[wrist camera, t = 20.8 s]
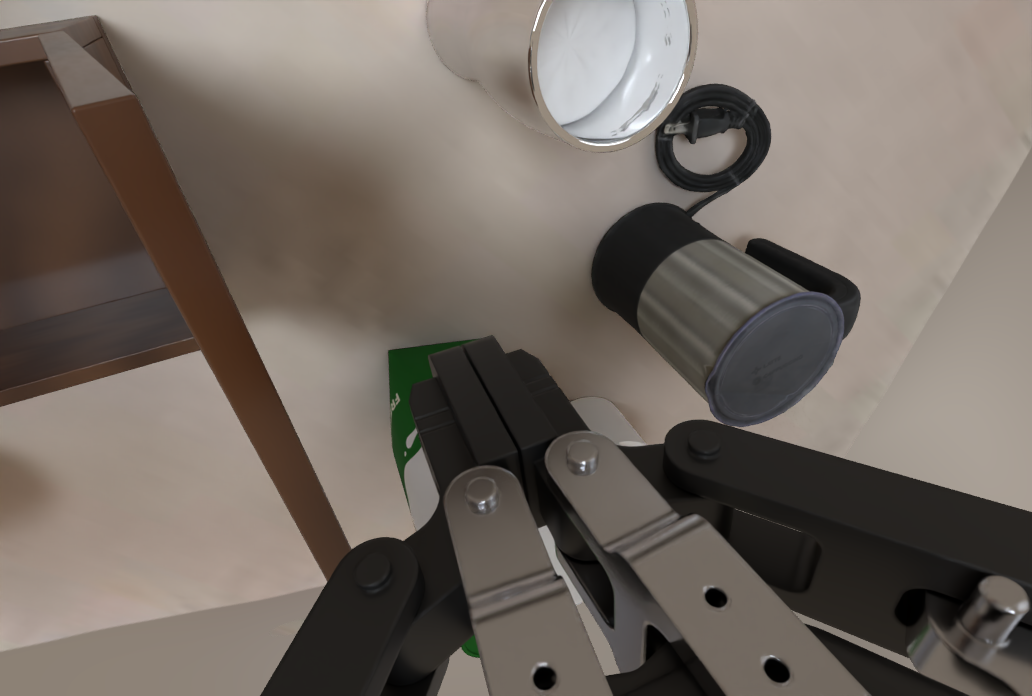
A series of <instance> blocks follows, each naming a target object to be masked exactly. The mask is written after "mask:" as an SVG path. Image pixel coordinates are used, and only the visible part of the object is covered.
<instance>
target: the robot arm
mask: <svg viewBox="0 0 1032 696" xmlns="http://www.w3.org/2000/svg"><path fill="white" fill-rule="evenodd" d="M428 360H429V364H430V368H431V372H432V376H433V378H430V379H427V380H424V381H421V382H418V383H415V384H412V388H411V393H410V397H409V401H408V402H409V406H410V409H411V413H412V416H413V419H414V423H415V426H416V429H417V433H418V436H419V439H420V443H421V446H422V449H423V452H424V455H425V458H426V461H427V464H428V467H429V469H430V472H431V475H432V478H433V481H434V483H435V486H436V489H437V492H438V495H439V502H438V505H437V508H436V510H435V512H434V514H433V515H432V517H431V518H430V520H429V521H428V522H427V523H426V524H425V525H424V526H423V527H422V528H420V529H419V530H418V531H417V532H415V533H414V534H412V535H411V536H410V537H408V538H407V539H406V540H404V541H402V540H399V539H396V538H390V537H380V538H375V539H371V540H368V541H366V542H364V543H361V544H359V545H358V546H356V547H355V548H353V549H352V550H351V551H350V552H348V553H347V554H346V555H345V556H344V557H343V558H342V560H341V561H340V562H339V564H338V565H337V567H336V568H335V570H334V572H333V574H332V575H331V577H330V579H329V580H328V582H327V584H326V585H325V587H324V589H323V590H322V592H321V594H320V596H319V597H318V599H317V601H316V602H315V604H314V606H313V608H312V609H311V611H310V613H309V614H308V616H307V617H306V619H305V621H304V623H303V624H302V626H301V628H300V629H299V631H298V633H297V634H296V636H295V638H294V640H293V641H292V643H291V645H290V646H289V648H288V650H287V651H286V653H285V655H284V656H283V658H282V660H281V661H280V663H279V665H278V667H277V668H276V670H275V672H274V673H273V675H272V677H271V679H270V680H269V682H268V683H267V685H266V687H265V688H264V690H263V692H262V694H261V695H260V696H437V694H438V691H439V689H440V686H441V683H442V680H443V678H444V675H445V672H446V670H447V667H448V663H449V657H450V655H452V654H453V653H454V652H455V651H456V650H457V649H459V648H460V647H461V646H462V645H463V644H464V643H465V642H467V641H468V640H469V639H470V638H471V637H472V636H473V635H475V639H476V643H477V647H478V651H479V655H480V660H481V664H482V667H483V672H484V676H485V680H486V683H487V688H488V692H489V696H1032V512H1029V511H1026V510H1022V509H1019V508H1015V507H1012V506H1008V505H1005V504H1001V503H998V502H994V501H991V500H986V499H984V498H980V497H977V496H973V495H970V494H966V493H962V492H959V491H955V490H951V489H948V488H945V487H941V486H938V485H934V484H931V483H927V482H924V481H920V480H917V479H913V478H909V477H906V476H903V475H899V474H896V473H892V472H889V471H885V470H882V469H878V468H875V467H871V466H868V465H864V464H861V463H857V462H853V461H850V460H846V459H843V458H840V457H836V456H833V455H829V454H826V453H822V452H819V451H815V450H811V449H808V448H804V447H801V446H797V445H794V444H790V443H787V442H783V441H780V440H776V439H773V438H769V437H766V436H762V435H759V434H755V433H752V432H748V431H745V430H741V429H738V428H734V427H731V426H727V425H724V424H720V423H717V422H713V421H708V420H689V421H685V422H682V423H680V424H677V425H676V426H674V427H673V428H672V429H671V430H670V431H669V432H668V433H667V435H666V437H665V442H664V444H655V445H644V446H620V445H616V444H615V443H614V442H613V441H612V440H611V439H609V438H608V437H606V436H604V435H602V434H600V433H597V432H593V431H591V430H590V429H589V428H588V426H587V425H586V424H585V422H584V421H583V419H582V418H581V417H580V415H579V414H578V413H577V411H576V410H575V408H574V407H573V406H572V404H571V403H570V401H569V400H568V399H567V397H566V396H565V395H564V393H563V392H562V390H561V389H560V388H559V387H558V386H557V384H556V382H555V381H554V379H553V378H552V377H551V376H550V375H549V372H548V371H547V370H546V368H545V367H544V366H543V364H542V363H541V361H540V360H539V359H538V358H536V357H535V356H533V355H531V354H529V353H527V352H525V351H524V350H522V349H520V350H516V351H513V352H510V353H507V354H505V353H504V351H503V349H502V348H501V346H500V345H499V343H498V342H497V340H496V339H495V337H494V336H493V335H491V336H487V337H484V338H481V339H478V340H475V341H471V342H468V343H465V344H462V345H461V347H460V346H456V347H453V348H449V349H446V350H443V351H440V352H437V353H434V354H430V355H428ZM736 509H738V510H736ZM739 510H741V511H739ZM742 511H744V512H746V513H744V512H742ZM748 513H749V514H748ZM750 514H752V515H750ZM753 515H755V516H753ZM756 516H758V517H756ZM759 517H761V518H759ZM762 518H764V519H762ZM765 519H767V520H765ZM768 520H769V521H768ZM770 521H772V522H770ZM773 522H775V523H773ZM776 523H778V524H776ZM779 524H781V525H779ZM546 525H547V527H548V529H549V531H550V533H551V535H552V537H553V539H554V545H555V553H556V556H557V559H558V561H559V563H560V564H561V566H562V567H563V569H564V571H565V572H566V574H567V576H568V577H569V579H570V580H571V582H572V584H573V585H574V587H575V588H576V590H577V592H578V593H579V595H580V596H581V598H582V600H583V601H584V603H585V604H586V606H587V608H588V609H589V611H590V613H591V614H592V616H593V617H594V619H595V621H596V622H597V624H598V625H599V627H600V628H601V630H602V632H603V634H604V635H605V637H606V639H607V641H608V642H609V645H610V647H611V649H612V652H613V655H614V658H615V661H616V664H617V666H618V668H619V671H620V674H614V675H608V676H605V675H604V673H603V670H602V668H601V665H600V663H599V661H598V658H597V655H596V653H595V651H594V648H593V646H592V643H591V641H590V639H589V636H588V634H587V631H586V629H585V626H584V624H583V622H582V619H581V617H580V614H579V612H578V610H577V607H576V605H575V602H574V600H573V597H572V595H571V593H570V590H569V588H568V586H567V584H566V582H565V580H564V579H563V577H562V576H561V575H559V576H558V575H557V573H556V571H555V569H554V567H553V565H552V562H551V560H550V557H549V555H548V552H547V550H546V547H545V545H544V542H543V540H542V537H541V535H540V532H539V530H538V528H541V527H543V526H546ZM782 525H784V526H782ZM785 526H787V527H785ZM788 527H790V528H788ZM791 528H792V529H791ZM793 529H795V530H793ZM796 530H798V531H796ZM799 531H801V532H799ZM791 610H793V611H795V612H798V613H800V614H802V615H805V616H807V617H810V618H812V619H815V620H817V621H820V622H822V623H824V624H827V625H829V626H832V627H834V628H837V629H839V630H842V631H844V632H847V633H849V634H851V635H854V636H856V637H859V638H861V639H863V640H866V641H868V642H871V643H874V644H876V645H878V646H881V647H883V648H885V649H888V650H890V651H893V652H895V653H898V654H900V655H903V656H905V657H907V658H910V660H911V661H912V663H913V665H914V667H915V668H916V669H917V671H918V672H919V673H918V672H916V671H914V670H911V669H909V668H907V667H905V666H902V665H900V664H898V663H896V662H894V661H891V660H889V659H887V658H884V657H882V656H880V655H878V654H875V653H873V652H871V651H869V650H867V649H865V648H862V647H860V646H858V645H855V644H853V643H851V642H849V641H847V640H844V639H842V638H840V637H838V636H835V635H833V634H831V633H829V632H826V631H824V630H822V629H819V628H816V627H814V626H810V625H807V624H804V623H803V622H802V621H801V620H800V619H799V618H798V617H797V616H796V615H795V614H794V613H793V612H792V611H791Z"/></svg>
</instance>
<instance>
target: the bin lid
mask: <svg viewBox="0 0 1032 696" xmlns="http://www.w3.org/2000/svg"><path fill="white" fill-rule="evenodd" d="M38 38H39V40H40V42H41V45H42V47H43V49H44V52H45V54H46V56H47V58H48V61H49V63H50V65H51V68H52V70H53V72H54V75H55V77H56V79H57V82H58V84H59V86H60V88H61V91H62V93H63V95H64V98H65V100H66V102H67V105H68V107H69V109H70V112H71V114H72V115H73V117H74V119H75V121H76V123H77V125H78V126H79V128H80V130H81V132H82V134H83V136H84V137H85V139H86V141H87V143H88V145H89V146H90V148H91V150H92V152H93V154H94V156H95V157H96V159H97V161H98V163H99V165H100V167H101V168H102V170H103V172H104V174H105V176H106V178H107V179H108V181H109V183H110V185H111V187H112V189H113V190H114V192H115V194H116V196H117V198H118V200H119V201H120V203H121V205H122V207H123V209H124V210H125V212H126V214H127V216H128V218H129V220H130V221H131V223H132V225H133V227H134V229H135V231H136V232H137V234H138V236H139V238H140V240H141V242H142V243H143V245H144V247H145V249H146V251H147V253H148V254H149V256H150V258H151V260H152V262H153V264H154V265H155V267H156V269H157V271H158V273H159V274H160V276H161V278H162V280H163V282H164V284H165V285H166V287H167V289H168V291H169V293H170V295H171V296H172V298H173V300H174V302H175V304H176V306H177V307H178V309H179V311H180V313H181V315H182V317H183V318H184V320H185V322H186V324H187V326H188V328H189V329H190V331H191V333H192V335H193V337H194V338H195V340H196V342H197V344H198V346H199V348H200V349H201V351H202V353H203V355H204V357H205V359H206V360H207V362H208V364H209V366H210V368H211V370H212V371H213V373H214V375H215V377H216V379H217V381H218V382H219V384H220V386H221V388H222V390H223V392H224V393H225V395H226V397H227V399H228V401H229V402H230V404H231V406H232V408H233V410H234V412H235V413H236V415H237V417H238V419H239V421H240V423H241V424H242V426H243V428H244V430H245V432H246V434H247V435H248V437H249V439H250V441H251V443H252V445H253V446H254V448H255V450H256V452H257V454H258V456H259V457H260V459H261V461H262V463H263V465H264V466H265V468H266V470H267V472H268V474H269V476H270V477H271V479H272V481H273V483H274V485H275V487H276V488H277V490H278V492H279V494H280V496H281V498H282V499H283V501H284V503H285V505H286V507H287V509H288V510H289V512H290V514H291V516H292V518H293V519H294V521H295V523H296V525H297V527H298V529H299V530H300V532H301V534H302V536H303V538H304V540H305V541H306V543H307V545H308V547H309V549H310V551H311V552H312V554H313V556H314V558H315V560H316V562H317V563H318V565H319V567H320V569H321V571H322V573H323V574H324V576H325V578H326V580H327V582H328V580H329V579H330V577H331V575H332V574H333V572H334V570H335V568H336V567H337V565H338V564H339V562H340V561H341V560H342V558H343V557H344V556H345V555H346V554H347V553H348V552H350V551H351V550H352V549H351V547H350V545H349V543H348V541H347V539H346V536H345V534H344V532H343V530H342V528H341V526H340V524H339V522H338V520H337V517H336V515H335V513H334V511H333V509H332V507H331V505H330V503H329V501H328V498H327V496H326V494H325V492H324V490H323V488H322V486H321V484H320V482H319V479H318V477H317V475H316V473H315V471H314V469H313V467H312V465H311V463H310V460H309V458H308V456H307V454H306V452H305V450H304V448H303V446H302V444H301V442H300V439H299V437H298V435H297V433H296V431H295V429H294V427H293V425H292V423H291V420H290V418H289V416H288V414H287V412H286V410H285V408H284V406H283V404H282V401H281V399H280V397H279V395H278V393H277V391H276V389H275V387H274V385H273V382H272V380H271V378H270V376H269V374H268V372H267V370H266V368H265V366H264V363H263V361H262V359H261V357H260V355H259V353H258V351H257V349H256V347H255V344H254V342H253V340H252V338H251V336H250V334H249V332H248V330H247V328H246V325H245V323H244V321H243V319H242V317H241V315H240V313H239V311H238V309H237V306H236V304H235V302H234V300H233V298H232V296H231V294H230V292H229V290H228V287H227V285H226V283H225V281H224V279H223V277H222V275H221V273H220V271H219V268H218V266H217V264H216V262H215V260H214V258H213V256H212V254H211V252H210V250H209V247H208V245H207V243H206V241H205V239H204V237H203V235H202V233H201V231H200V228H199V226H198V224H197V222H196V220H195V218H194V216H193V214H192V212H191V209H190V207H189V205H188V203H187V201H186V199H185V197H184V195H183V193H182V190H181V188H180V186H179V184H178V182H177V180H176V178H175V176H174V174H173V171H172V169H171V167H170V165H169V163H168V161H167V159H166V157H165V155H164V152H163V150H162V148H161V146H160V144H159V142H158V140H157V138H156V136H155V133H154V131H153V129H152V127H151V125H150V123H149V121H148V119H147V117H146V114H145V112H144V110H143V108H142V106H141V104H140V102H139V100H138V98H137V97H136V96H135V95H134V94H133V93H132V92H131V91H130V90H129V89H128V88H127V87H125V86H124V85H123V84H122V83H121V82H120V81H119V80H118V79H117V78H115V77H114V76H113V75H112V74H111V73H110V72H109V71H108V70H107V69H105V68H104V67H103V66H102V65H101V64H100V63H99V62H98V61H97V60H95V59H94V58H93V57H92V56H91V55H90V54H89V53H88V52H87V51H85V50H84V49H83V48H82V47H81V46H80V45H79V44H78V43H77V42H75V41H74V40H73V39H72V38H71V37H70V36H69V35H68V34H66V33H65V32H64V31H57V32H51V33H45V34H39V35H38Z"/></svg>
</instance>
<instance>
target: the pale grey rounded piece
mask: <svg viewBox="0 0 1032 696" xmlns="http://www.w3.org/2000/svg"><path fill="white" fill-rule="evenodd" d="M570 403H571V404H572V406H573V407H574V408H575V410H576V411H577V413H578V414H579V415H580V417H581V418H582V419H583V421H584V422H585V424H586V425H587V426H588V428H589V429H590V430H591V431H593V432H597V433H600V434H602V435H604V436H606V437H608V438H609V439H611V440H612V441H613V442H614V443H615V444H616V445H620V446H644V445H647V444H646V443H645V441H644V440H643V439H642V438H641V437H640V435H639V434H638V433H637V432H636V431H635V429H634V428H633V427H632V426H631V424H630V423H629V422H628V421H627V420H626V418H625V417H624V416H623V415H622V414H621V412H620V411H619V410H618V409H617V408H616V406H615V405H614V404H613V403H612V402H610V401H608V400H606V399H604V398H599V397H585V398H579V399H577V400H574V401H571V402H570Z"/></svg>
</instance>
